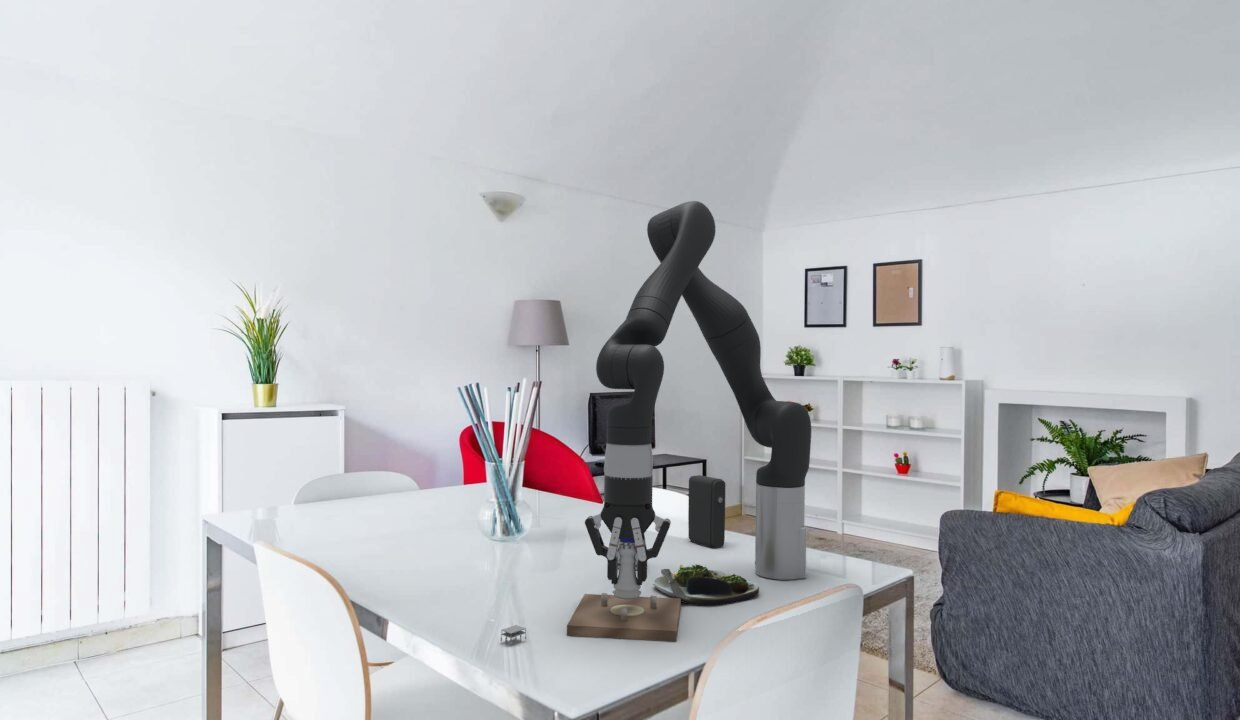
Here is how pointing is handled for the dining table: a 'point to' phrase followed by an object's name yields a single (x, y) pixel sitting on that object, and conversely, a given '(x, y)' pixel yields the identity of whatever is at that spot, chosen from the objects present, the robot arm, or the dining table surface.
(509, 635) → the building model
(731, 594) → the salad plate
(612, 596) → the pin board
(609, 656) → the dining table surface
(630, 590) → the rook chess piece
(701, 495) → the dark grey upright block
